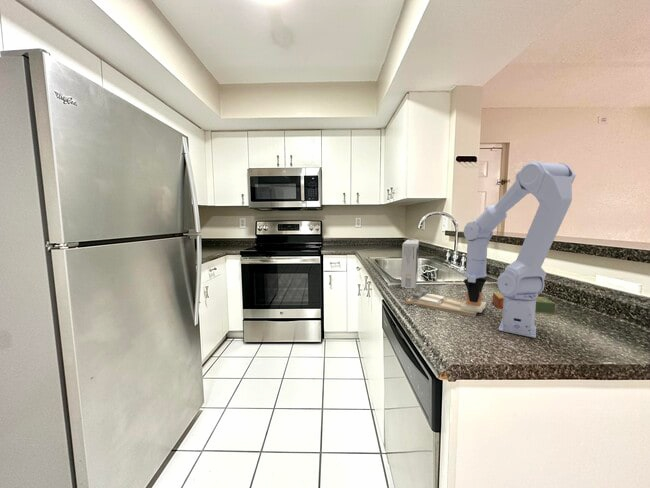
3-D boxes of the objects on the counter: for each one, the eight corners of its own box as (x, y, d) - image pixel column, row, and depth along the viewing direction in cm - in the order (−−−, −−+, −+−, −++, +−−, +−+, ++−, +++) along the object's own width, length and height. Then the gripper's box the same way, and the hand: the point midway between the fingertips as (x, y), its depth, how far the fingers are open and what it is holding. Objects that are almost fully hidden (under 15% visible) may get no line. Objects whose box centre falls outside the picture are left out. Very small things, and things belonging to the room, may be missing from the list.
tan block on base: (481, 312, 85) (482, 296, 85) (460, 308, 89) (461, 293, 89) (486, 305, 93) (486, 290, 93) (466, 302, 97) (467, 287, 97)
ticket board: (474, 317, 85) (475, 306, 85) (405, 303, 98) (405, 295, 98) (481, 306, 96) (482, 297, 96) (418, 295, 109) (418, 287, 109)
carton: (492, 303, 101) (492, 291, 101) (545, 308, 96) (545, 296, 95) (497, 309, 93) (498, 297, 93) (555, 315, 88) (556, 302, 88)
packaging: (415, 289, 120) (417, 243, 118) (400, 288, 122) (402, 243, 120) (417, 277, 148) (419, 239, 146) (405, 276, 150) (406, 239, 148)
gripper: (467, 256, 98) (465, 294, 99) (458, 260, 87) (456, 303, 88) (490, 258, 94) (488, 297, 95) (483, 262, 82) (481, 307, 83)
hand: (474, 300), depth 91 cm, fingers closed on tan block on base, 3 cm apart
